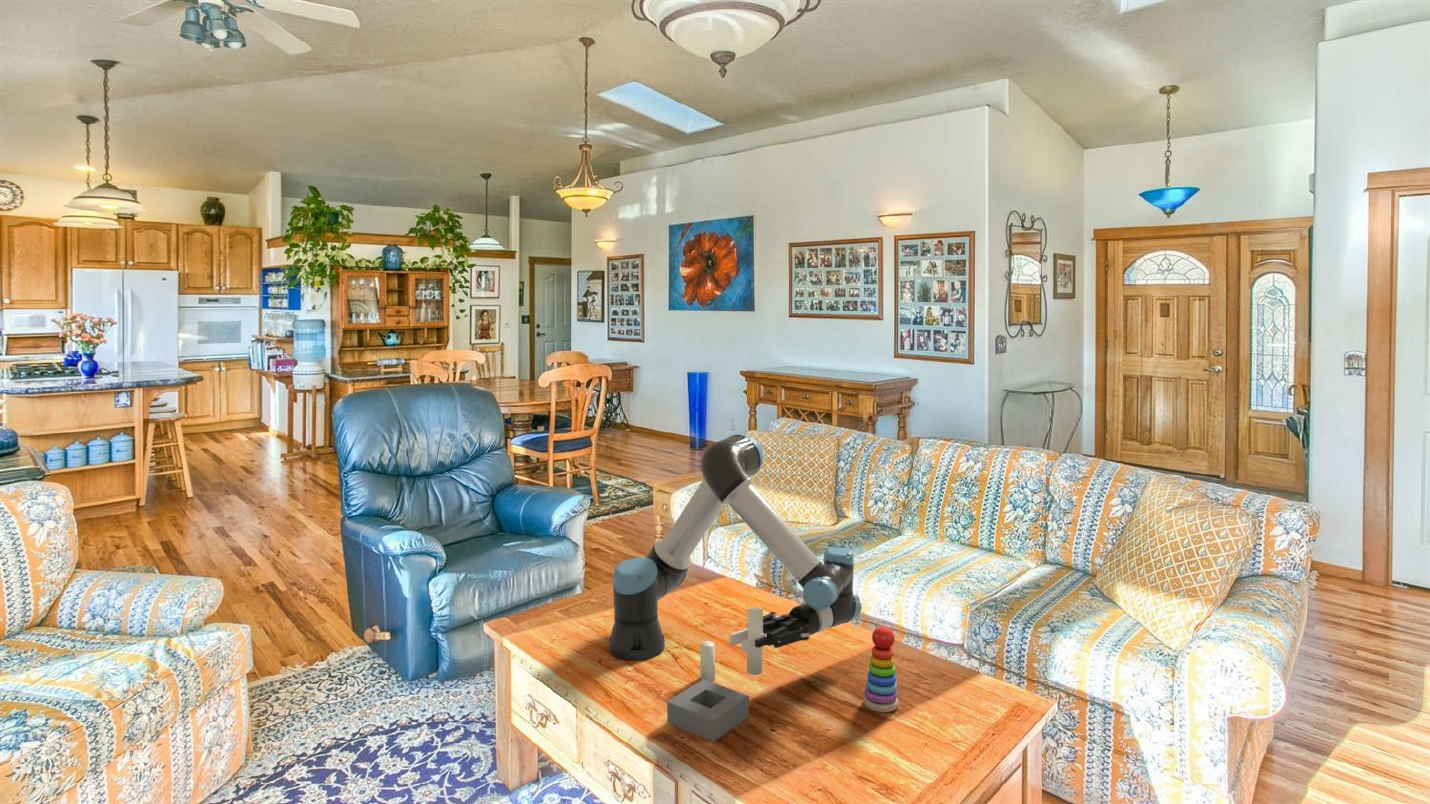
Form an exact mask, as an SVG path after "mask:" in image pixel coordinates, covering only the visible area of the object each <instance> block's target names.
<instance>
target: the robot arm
mask: <svg viewBox="0 0 1430 804" xmlns="http://www.w3.org/2000/svg"><path fill="white" fill-rule="evenodd" d="M763 462H764V452H763V448H762V447H761V445H760V443H759V442H758V441H757V440H756V438H754V437H753V436H750V435H748V434H745V433H739V434H737V433H736V434H732V435H730V436H728V437H726V438H724V439H722V440H719V441H716V442H714V443H712V444H711V445H709V446H708V447H707V448H706V449H705V450H704V452H703V453H702V456H701V459H700V470H701V474H702V477H703V480H702V481H701V483H700V484H699V485H698V487H697V489H696V490H695V491H694V493H693V494H692V496H691V498H690V499H689V500H688V503H687V504H686V506H685V507H684V509H683V510H682V512H681V513H680V515H678V518H677V519H676V521H675V522H674V524H673V525H672V527H671V528H670V529H669V532H667V535H666V536H665V537H664V538H663V539H659V540H657V541H655V543H654V545H653V546H652V548H651V549H650V551H649V552H648V554H647V555H646V556H645V557H633V558H632V557H631V559H625V560H623V561H621V562H620V563H619V564H617V565H616V567H615V568H614V571H613V579H612V586H613V610H614V611H613V612H614V613H613V614H614V615H613V616H614V622H613V626H612V628H611V631H610V632H611V633H610V637H609V638H608V652H609V654H610V655H612V654H613V655H614V656H613V655H612V656H613V657H615V656H617V657H618V658H617V657H616V658H617V659H620V658H622V660H625V659H627V660H628V661H639V660H646V659H651V658H653V657H657V656H658V655H660V654H661V653H662V652H664V650H665V646H666V643H665V641H666V640H665V635H664V634H663V631H662V628H661V624H660V622H659V616H658V615H659V614H658V611H659V608H658V605H659V600H661V599H662V598H663V597H665V596H667V594H669V593H671V592H672V591H674V590H676V589H677V588H678V587H680V586H681V584H683V582H684V581H685V579H686V578H687V575H688V571H689V568H690V567H691V564H692V560H691V555H692V554H693V552H694V551H695V549H696V548H697V547H698V545H699V543H700V542H701V540H702V539H703V537H704V536H705V535H706V534H707V531H708V530H709V528H710V527H711V526H712V524H713V523H714V521H715V520H716V518H717V517H718V516H719V513H720V512H721V510H723V508H724V506H725V505H727V506H730V507H731V509H732V510H733V511H734V512H735V513H736V514H737V515H738V517H739V518H741V520H742V521H743V523H745V524H746V525H747V526H748V528H749V529H750V530H751V531H752V532H753V533H754V534H755V536H756V537H757V538H758V539H759V540H760V541H761V542H762V543H763V545H764V546H765V547H766V548H767V549H768V550H769V551H770V552H771V554H772V555H773V556H774V557H775V558H776V559H777V560H778V561H779V563H780V564H781V565H782V566H783V567H784V569H786V571H787V572H789V573H790V575H791V576H792V577H793V578H794V579H795V580H796V582H797V583H798V584H799V585H800V586H801V588H802V589H803V590H802V596H803V599H804V601H805V603H803V604H799V605H796V606H793V607H792V608H791V610H790V611H789V612H788V613H787V614H781V615H780V616H779V615H776V612H775V611H770V612H769V613H768V614H765V615H763V633H762V634H759V635H756V636H753V637H750V638H747V627H746V628H744V629H741V630H738V631H735V632H732V633H730V634H729V637H730V638H729V639H730V640H729V645H730V646H732V647H733V646H734V647H735V646H737V645H739V644H741V653H743V654H744V653H747V651H750V650H753V649H756V648H759V647H762V648H763V647H765V646H768V647H769V646H770V647H771V646H773V648H775V649H778V648H782V647H784V646H785V647H786V646H788V645H791V644H794V643H798V642H800V641H808V640H809V639H810V636H812V635H815V634H816V633H820V632H822V631H826V630H828V629H831V628H834V627H837V626H840V625H842V624H848V623H849V622H852V621H853V620H855V619H857V618H858V617H859V616H860V614H861V612H862V607H863V606H862V603H861V599H860V596H858V595H857V593H856V592H854V589H853V588H854V572H855V571H854V570H855V569H854V568H855V567H854V566H855V562H854V561H855V558H854V553H853V552H852V551H851V550H850V549H848V548H846V547H829V548H827V549H825V551H824V552H823V553H824V554H823V559H822V560H823V562H821V560H820V559H819V558H818V557H817V555H815V553H814V552H813V551H812V550H811V549H810V548H809V546H807V545H806V543H805V542H804V541H803V540H802V539H801V538H800V537H799V535H798V534H797V533H796V532H795V531H794V530H793V529H792V528H791V527H790V526H789V525H788V523H787V522H786V521H785V520H784V519H783V517H782V516H781V515H779V513H778V512H777V511H776V510H775V509H774V508H773V506H771V504H770V503H769V502H768V501H767V499H765V497H764V496H763V495H762V493H761V492H759V491H758V490H757V488H756V487H755V486H754V484H752V483H753V481H752V480H753V478H752V476H753V475H756V473H758V472H759V470H760V469H761V468H762V466H763V464H764V463H763ZM627 660H626V661H627Z"/></svg>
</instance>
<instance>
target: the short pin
mask: <svg viewBox="0 0 1430 804" xmlns="http://www.w3.org/2000/svg"><path fill="white" fill-rule="evenodd" d="M699 646H700V647H699V651H700V653H699V655H700V658H699V660H700V662H699V665H700V681H701V680H703V679H705V680H707V681H710V682H714V681H715V680H716V648H715V647H716V645H715V642H714V641H711V640H710V641H709V640H704V641H702V642H700V644H699Z"/></svg>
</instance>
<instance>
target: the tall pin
mask: <svg viewBox="0 0 1430 804" xmlns="http://www.w3.org/2000/svg"><path fill="white" fill-rule="evenodd" d="M763 616H764V610H763V608H760V607H759V608H758V607H751V608H748V609H747V621H746V628H747V638H750V637H753V636H756V635H759V634H762V633H763ZM746 672H747V674H749V675H751V676H752V675H753V676H758V675H761V674H762V673H763V646H762V647H759V648H756V649H753V650H750V651H747V652H746Z"/></svg>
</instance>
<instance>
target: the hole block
mask: <svg viewBox="0 0 1430 804" xmlns="http://www.w3.org/2000/svg"><path fill="white" fill-rule="evenodd" d="M666 710H667V711H666V712H667V713H666V716H667V718H666V719H667V722H669V723H671V724H670V725H672V724H673V725H672V726H674V727H676V726H677V728H679V729H681V730H683V731H686V732H688V733H690V734H692V735H695V736H698V737H700V738H702V739H705V740H707V741H710V742H712V743H715V742H716V741H717V740H719V739H720V738H722V737H723V736H725V734H727V733H729V732H730V731H732V730H733V729H734V728H736V727H737V726H738V725H739V724H741V723H742V722H743V721H745V720H747V719H748V718H749V717H750V695H748V694H745V693H742V692H740V691H737V690H734V689H732V688H729V687H726V686H724V685H721V684H718V683H715V682H714V681H712V682H710V681H707V680H705V679H703V680H701V679H700V681H698V682H697V683H695V684H693V685H691V686H690V687H689V688H687V689H685V690H684V691H682V692H680V693H679V694H677V695H676V696H673V698H671V699H669V700H667V701H666ZM669 723H668V724H669Z"/></svg>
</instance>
